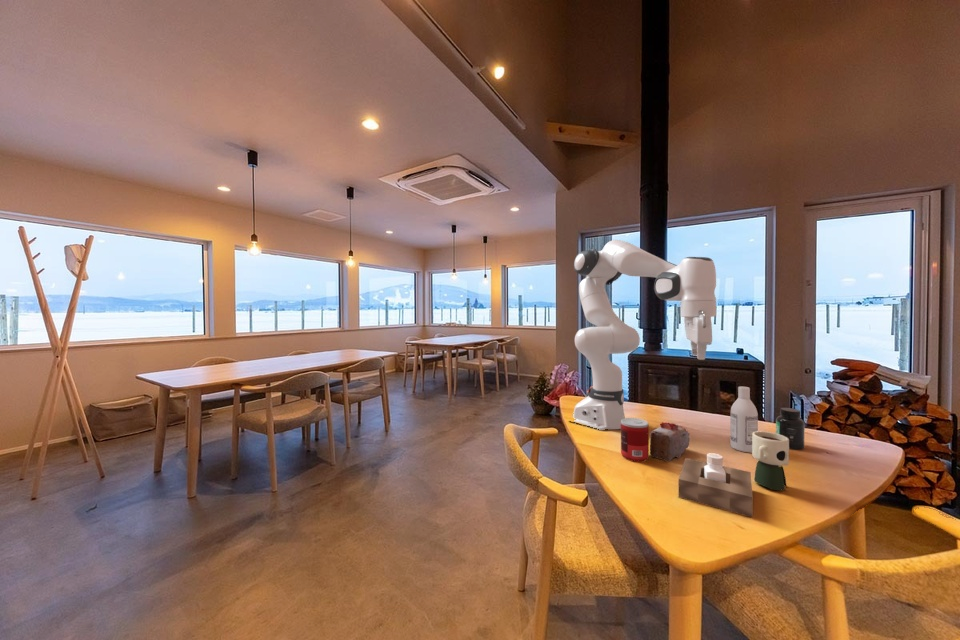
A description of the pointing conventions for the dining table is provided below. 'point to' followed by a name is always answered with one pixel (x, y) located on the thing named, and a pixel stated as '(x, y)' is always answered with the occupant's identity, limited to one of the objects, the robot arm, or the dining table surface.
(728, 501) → the socket
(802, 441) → the supplement bottle
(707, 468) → the pepper shaker
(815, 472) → the dining table surface
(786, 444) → the character mug
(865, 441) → the dining table surface
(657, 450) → the food item
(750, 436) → the bath foam
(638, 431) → the canned food
